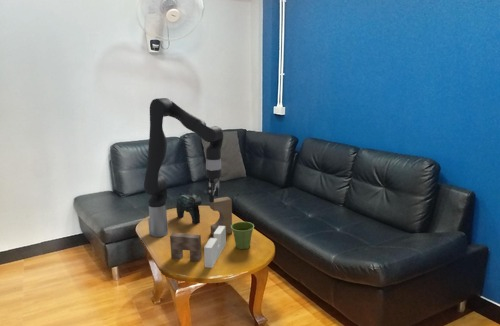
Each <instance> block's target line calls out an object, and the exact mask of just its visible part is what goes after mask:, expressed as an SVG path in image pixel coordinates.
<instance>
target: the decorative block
mask: <svg viewBox="0 0 500 326" xmlns="http://www.w3.org/2000/svg"><path fill="white" fill-rule="evenodd" d="M209 208H210V209H211V210H212V211H213V212H218V213H219V218H218V219H217V221H216V222H215V223H213V224H211V225H210V234H211V235H212V236H213V237H214V232H215V231H216V229H217V228H218V226H226V235H228V234H232V233H233V231H232V228H231V225H232V224H233V200H232V199H231V197H229V196H223V197H216V198H214V202H209Z"/></svg>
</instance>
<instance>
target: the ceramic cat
mask: <svg viewBox="0 0 500 326" xmlns="http://www.w3.org/2000/svg"><path fill="white" fill-rule="evenodd" d="M187 192H190V195H189V194H187V193H185V192H181V193H179V195H178V197H177V200H176V206H175V208H176V215H177V218H178V219H182V218H184V217H185V216H184V215H185V212H186V213H189V215H190V217H191V222H192V224H195V225H197V224H200V223H201V214H200V208H199V207H200V206H201V205H202V198H201V197H200V195H199V193H198V194H197V195H195V193H192V190H191V189H188V190H187ZM181 194H182V195H181Z"/></svg>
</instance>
